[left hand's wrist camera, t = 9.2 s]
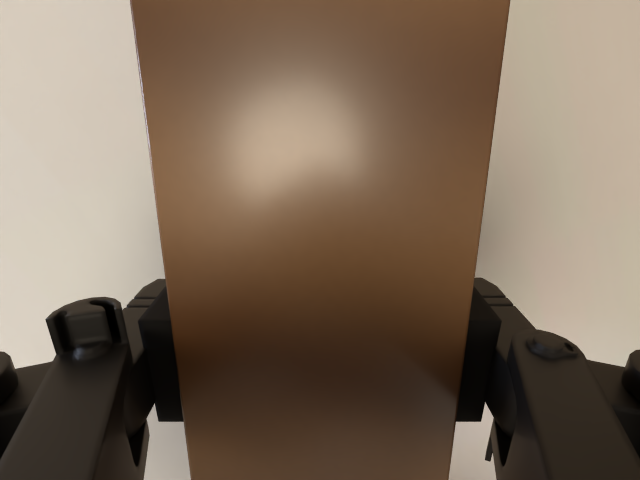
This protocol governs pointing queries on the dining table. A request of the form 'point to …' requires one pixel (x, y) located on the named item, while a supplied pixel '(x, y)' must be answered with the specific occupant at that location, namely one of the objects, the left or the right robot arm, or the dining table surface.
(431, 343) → the brown wooden brick
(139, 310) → the left robot arm
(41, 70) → the dining table surface
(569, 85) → the dining table surface
